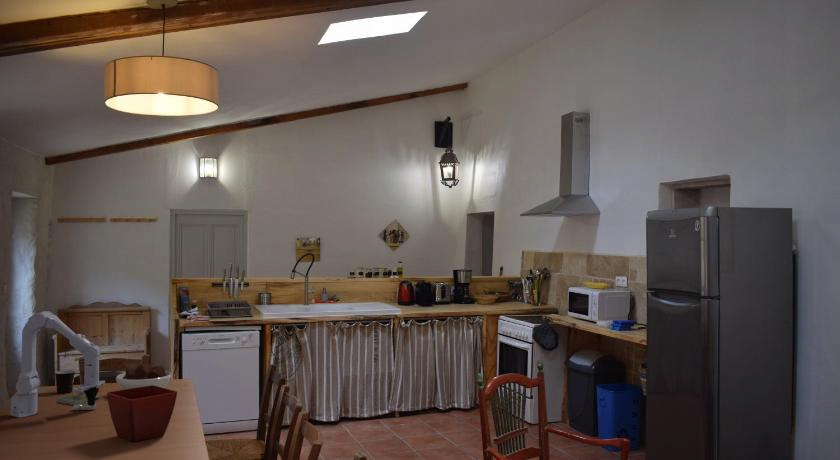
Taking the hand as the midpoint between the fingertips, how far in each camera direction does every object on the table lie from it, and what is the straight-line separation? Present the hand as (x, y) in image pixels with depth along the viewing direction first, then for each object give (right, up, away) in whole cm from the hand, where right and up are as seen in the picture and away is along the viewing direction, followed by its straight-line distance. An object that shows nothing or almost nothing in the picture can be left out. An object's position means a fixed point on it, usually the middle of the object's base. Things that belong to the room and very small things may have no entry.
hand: (91, 405), depth 288 cm
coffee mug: (-32, -4, +39) cm, 50 cm away
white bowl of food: (+8, -4, +35) cm, 36 cm away
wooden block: (-14, -3, +18) cm, 23 cm away
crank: (-3, -2, +1) cm, 4 cm away
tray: (-15, -3, +18) cm, 23 cm away
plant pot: (+36, -3, -33) cm, 49 cm away
